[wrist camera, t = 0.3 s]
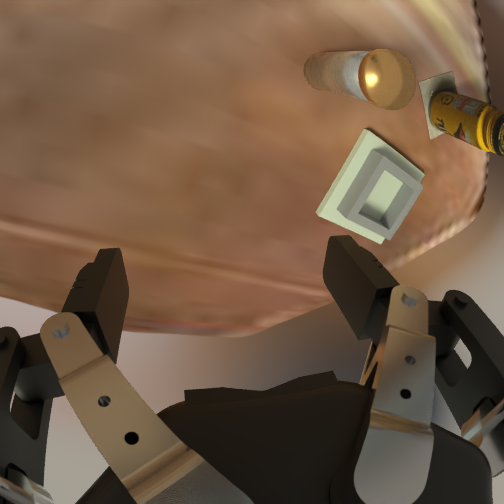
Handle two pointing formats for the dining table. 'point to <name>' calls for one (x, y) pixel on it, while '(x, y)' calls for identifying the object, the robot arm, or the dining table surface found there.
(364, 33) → the dining table surface
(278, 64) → the dining table surface
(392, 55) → the glass storage jar
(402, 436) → the robot arm
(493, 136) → the condiment
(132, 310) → the dining table surface
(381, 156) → the dock
